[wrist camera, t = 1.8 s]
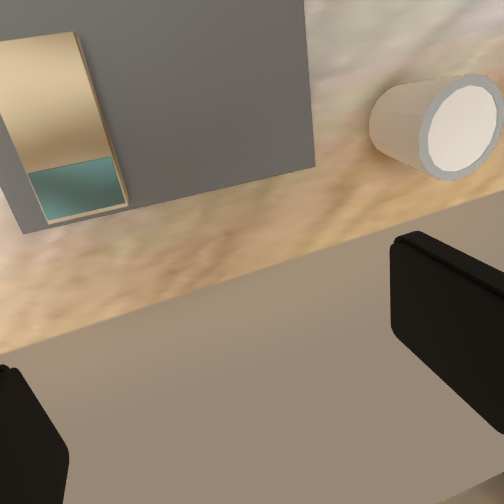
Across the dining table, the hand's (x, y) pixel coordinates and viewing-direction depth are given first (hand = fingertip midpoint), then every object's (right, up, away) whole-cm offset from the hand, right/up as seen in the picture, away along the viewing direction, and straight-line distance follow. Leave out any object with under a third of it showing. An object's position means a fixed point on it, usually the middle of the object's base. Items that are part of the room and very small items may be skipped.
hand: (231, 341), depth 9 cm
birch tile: (-11, +10, +15) cm, 21 cm away
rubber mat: (-6, +13, +16) cm, 21 cm away
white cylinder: (+13, +13, +22) cm, 29 cm away
